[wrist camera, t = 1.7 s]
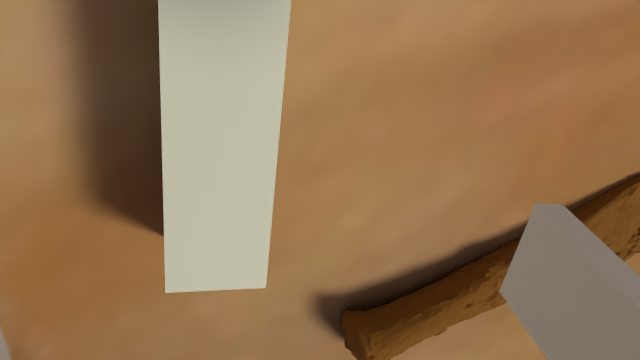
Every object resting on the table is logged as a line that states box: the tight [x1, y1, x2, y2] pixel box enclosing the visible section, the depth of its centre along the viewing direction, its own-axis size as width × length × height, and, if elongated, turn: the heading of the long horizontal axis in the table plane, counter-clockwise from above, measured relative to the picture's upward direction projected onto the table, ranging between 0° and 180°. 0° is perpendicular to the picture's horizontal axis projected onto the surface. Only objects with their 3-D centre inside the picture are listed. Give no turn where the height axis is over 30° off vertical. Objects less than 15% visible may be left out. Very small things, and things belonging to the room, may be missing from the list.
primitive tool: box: [341, 175, 640, 360], centre depth 29 cm, size 19×6×4 cm, turn 110°
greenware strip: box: [158, 0, 291, 293], centre depth 20 cm, size 16×4×4 cm, turn 173°
